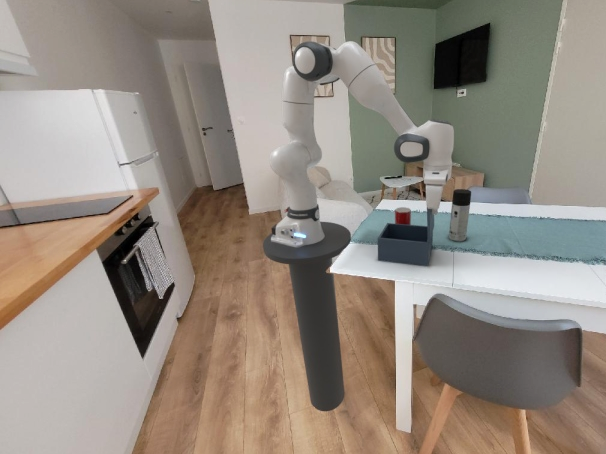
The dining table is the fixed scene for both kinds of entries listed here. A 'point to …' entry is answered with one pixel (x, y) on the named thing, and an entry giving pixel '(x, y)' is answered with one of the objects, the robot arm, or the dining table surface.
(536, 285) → the dining table surface
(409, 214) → the can
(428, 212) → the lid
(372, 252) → the dining table surface
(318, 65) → the robot arm
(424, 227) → the dark blue box
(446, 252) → the dining table surface
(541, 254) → the dining table surface
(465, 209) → the spray can
